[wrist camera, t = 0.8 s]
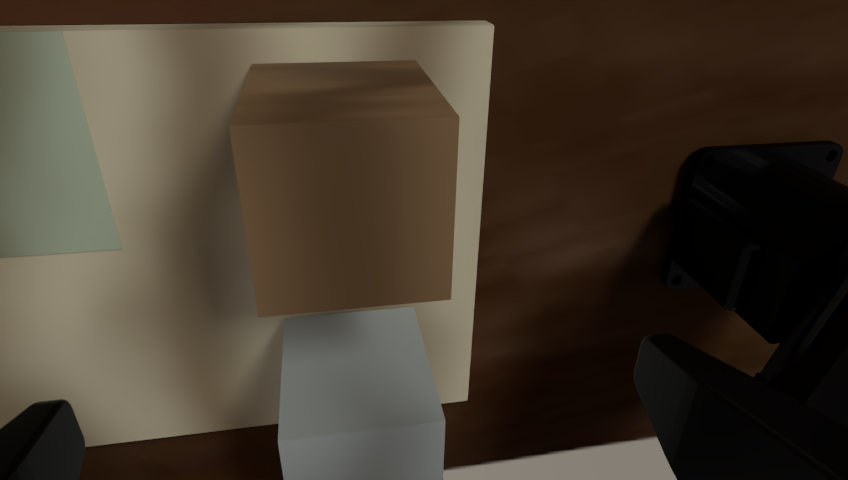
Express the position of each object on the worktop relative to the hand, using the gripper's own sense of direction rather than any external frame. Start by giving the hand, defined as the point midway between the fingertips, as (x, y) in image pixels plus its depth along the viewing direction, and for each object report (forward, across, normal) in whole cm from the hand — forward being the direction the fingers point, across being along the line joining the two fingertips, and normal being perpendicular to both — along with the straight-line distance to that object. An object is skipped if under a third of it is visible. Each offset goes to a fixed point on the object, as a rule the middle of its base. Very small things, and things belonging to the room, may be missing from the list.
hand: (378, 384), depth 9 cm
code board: (+12, +5, +4) cm, 14 cm away
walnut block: (+11, 0, 0) cm, 11 cm away
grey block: (+11, 0, +9) cm, 15 cm away
